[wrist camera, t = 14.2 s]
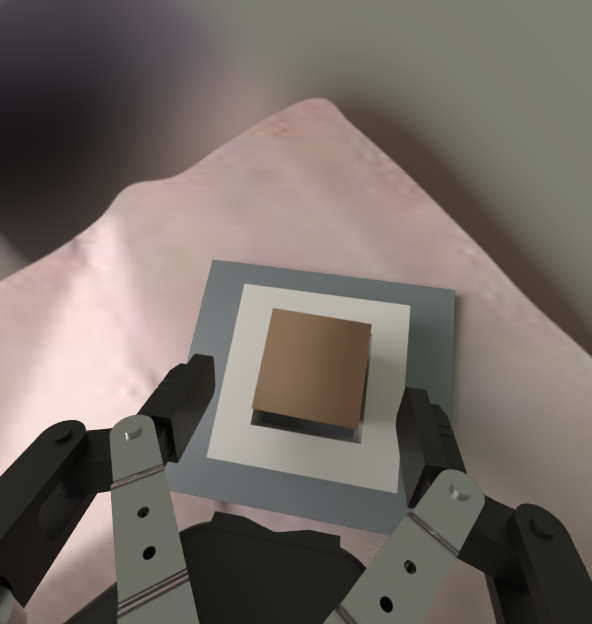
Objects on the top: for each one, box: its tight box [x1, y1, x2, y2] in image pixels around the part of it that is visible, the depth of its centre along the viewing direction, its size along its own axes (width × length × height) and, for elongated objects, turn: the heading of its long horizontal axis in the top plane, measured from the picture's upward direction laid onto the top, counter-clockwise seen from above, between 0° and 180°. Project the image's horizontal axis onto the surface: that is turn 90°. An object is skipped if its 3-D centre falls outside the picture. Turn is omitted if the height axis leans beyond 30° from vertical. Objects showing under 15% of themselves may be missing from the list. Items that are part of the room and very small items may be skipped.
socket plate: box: [164, 260, 455, 535], centre depth 21 cm, size 18×16×5 cm
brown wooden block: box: [251, 308, 372, 430], centre depth 18 cm, size 4×4×10 cm
